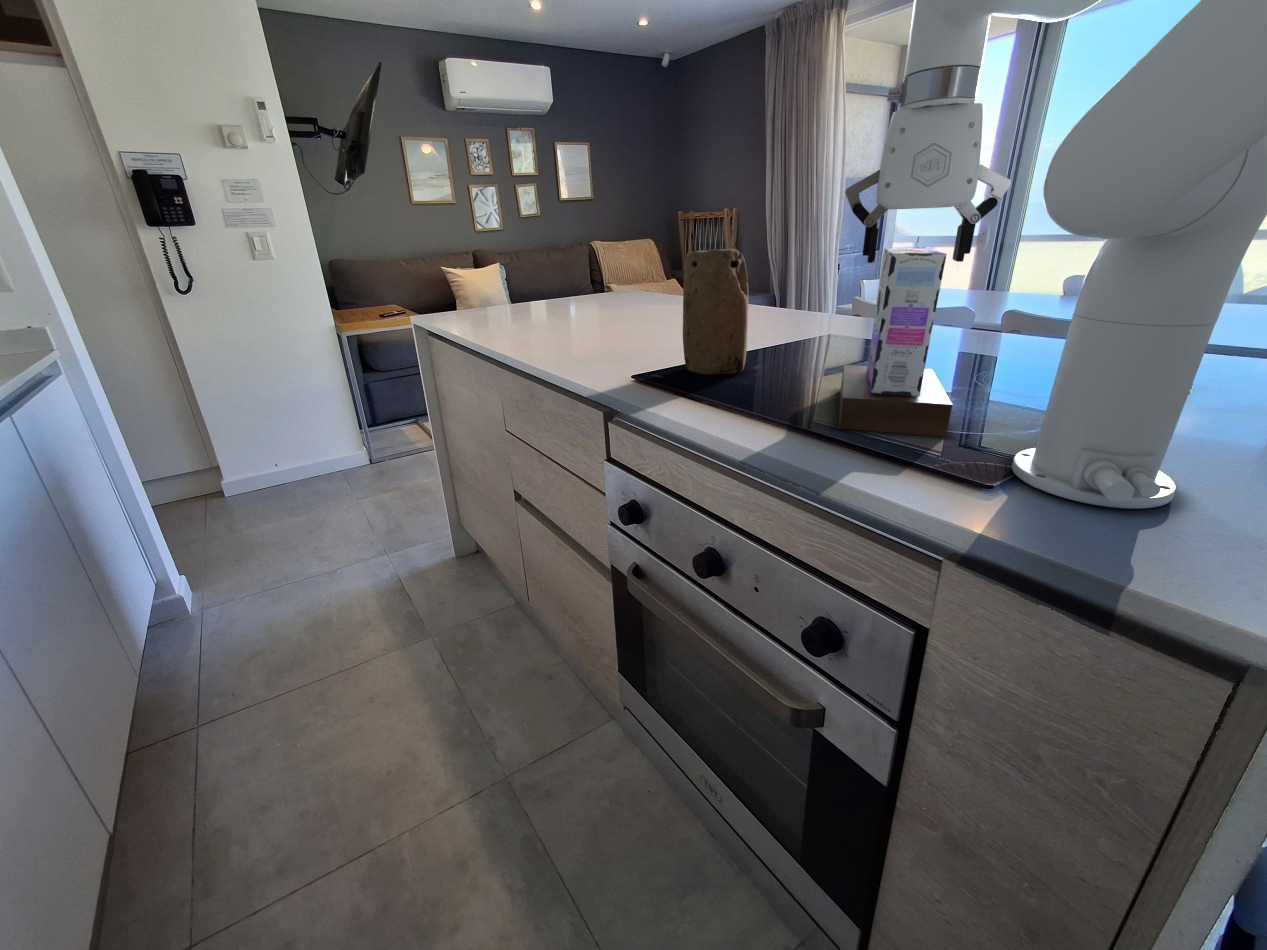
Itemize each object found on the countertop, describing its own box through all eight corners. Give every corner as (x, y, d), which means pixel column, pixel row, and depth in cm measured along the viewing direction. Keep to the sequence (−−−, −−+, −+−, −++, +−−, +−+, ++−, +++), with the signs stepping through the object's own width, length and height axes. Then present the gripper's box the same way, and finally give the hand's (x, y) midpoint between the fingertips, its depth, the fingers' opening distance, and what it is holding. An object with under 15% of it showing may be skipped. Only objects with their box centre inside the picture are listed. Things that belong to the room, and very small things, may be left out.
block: (679, 374, 98) (680, 250, 90) (689, 364, 105) (691, 248, 97) (742, 378, 95) (749, 249, 87) (748, 367, 102) (755, 247, 93)
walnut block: (945, 437, 68) (952, 404, 66) (839, 428, 71) (843, 397, 70) (927, 395, 83) (932, 368, 81) (840, 390, 87) (843, 364, 85)
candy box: (921, 398, 68) (948, 251, 62) (868, 395, 70) (890, 252, 64) (910, 371, 80) (932, 246, 74) (865, 369, 82) (883, 246, 75)
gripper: (855, 96, 62) (837, 264, 69) (1040, 78, 56) (1002, 262, 63) (854, 109, 68) (838, 261, 75) (1020, 93, 63) (987, 258, 70)
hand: (913, 261), depth 69 cm, fingers open, 9 cm apart
